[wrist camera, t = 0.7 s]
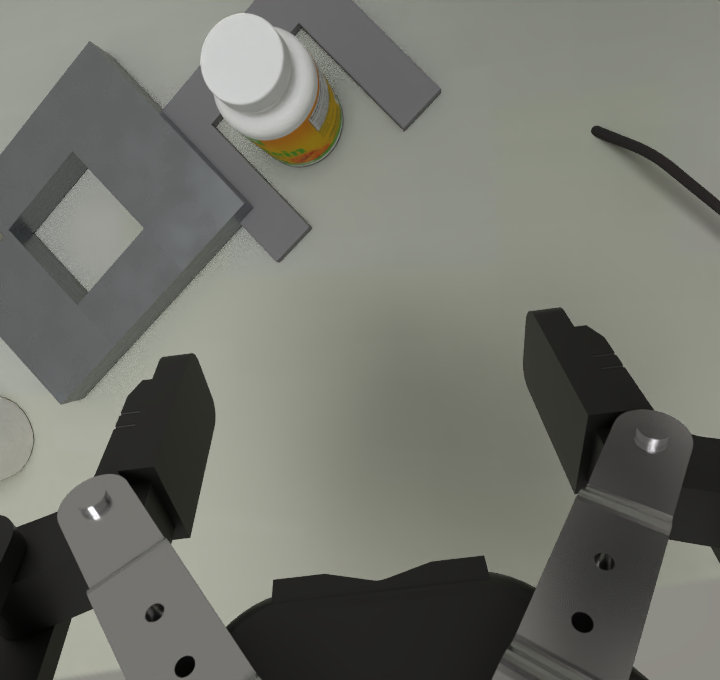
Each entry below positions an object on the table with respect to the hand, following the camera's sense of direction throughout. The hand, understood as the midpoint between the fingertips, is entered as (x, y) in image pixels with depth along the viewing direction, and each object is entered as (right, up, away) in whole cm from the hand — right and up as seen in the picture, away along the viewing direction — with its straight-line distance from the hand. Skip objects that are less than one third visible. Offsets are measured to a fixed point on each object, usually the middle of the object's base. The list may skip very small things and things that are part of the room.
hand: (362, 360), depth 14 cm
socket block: (-18, +8, +24) cm, 31 cm away
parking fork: (-4, +14, +21) cm, 25 cm away
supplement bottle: (-4, +14, +21) cm, 25 cm away
